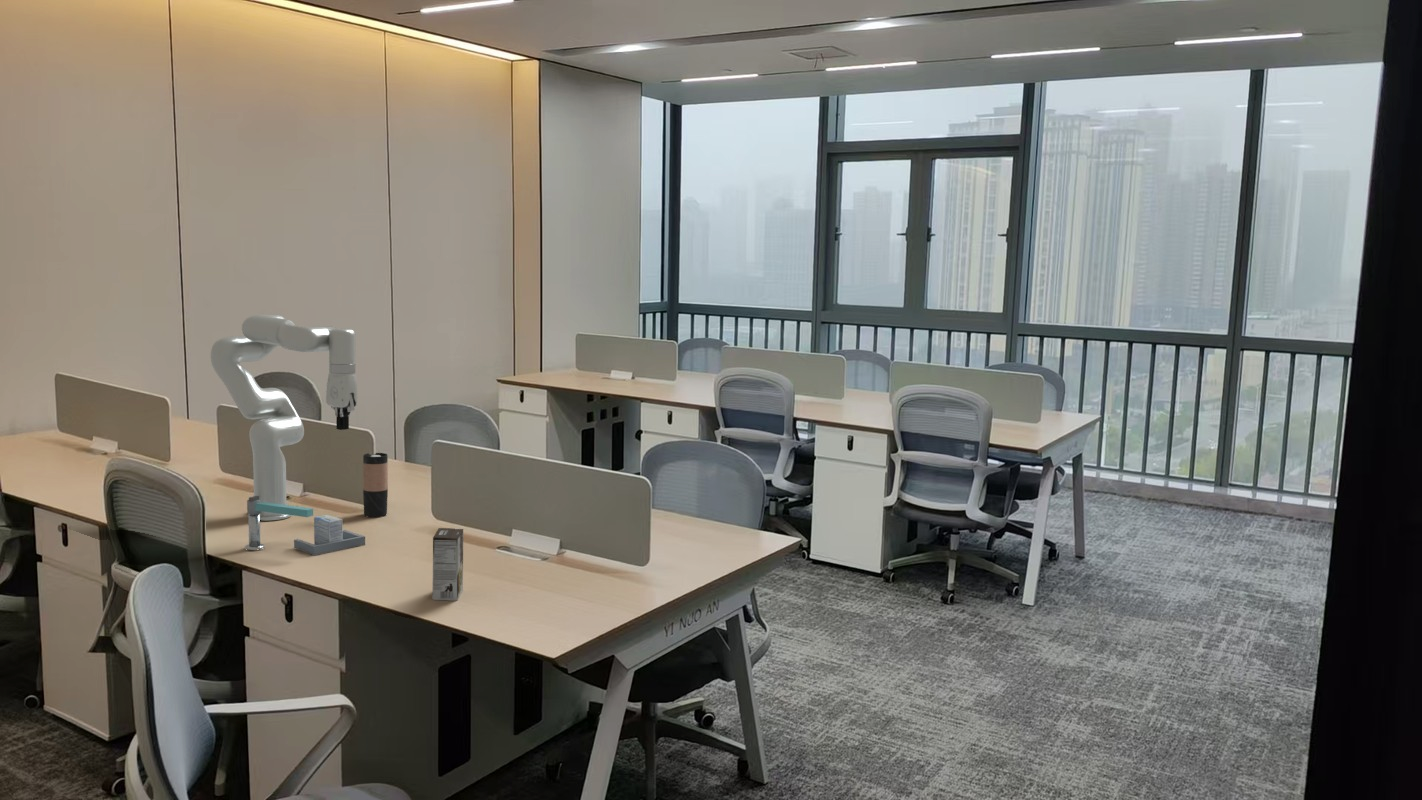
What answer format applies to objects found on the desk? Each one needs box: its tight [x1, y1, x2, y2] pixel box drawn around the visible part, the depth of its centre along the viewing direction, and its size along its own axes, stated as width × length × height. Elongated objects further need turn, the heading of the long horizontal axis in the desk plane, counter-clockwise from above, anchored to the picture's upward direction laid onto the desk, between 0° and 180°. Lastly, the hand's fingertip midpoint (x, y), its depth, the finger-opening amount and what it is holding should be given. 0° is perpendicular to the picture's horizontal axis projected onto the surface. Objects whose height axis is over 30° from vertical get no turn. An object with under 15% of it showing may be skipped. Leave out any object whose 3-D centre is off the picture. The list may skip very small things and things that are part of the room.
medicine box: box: [313, 514, 344, 545], centre depth 294 cm, size 8×4×9 cm, turn 53°
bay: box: [293, 529, 366, 556], centre depth 296 cm, size 10×16×2 cm, turn 142°
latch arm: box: [246, 495, 314, 518], centre depth 286 cm, size 4×21×5 cm, turn 72°
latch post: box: [244, 514, 265, 551], centre depth 290 cm, size 5×5×10 cm
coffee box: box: [432, 527, 464, 601], centre depth 256 cm, size 9×6×16 cm
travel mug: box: [362, 452, 389, 518], centre depth 333 cm, size 8×8×20 cm
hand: (342, 429), depth 312 cm, fingers closed
